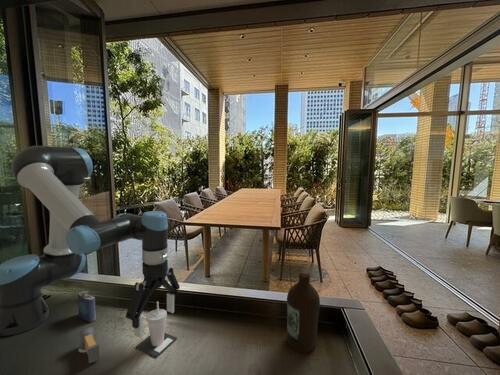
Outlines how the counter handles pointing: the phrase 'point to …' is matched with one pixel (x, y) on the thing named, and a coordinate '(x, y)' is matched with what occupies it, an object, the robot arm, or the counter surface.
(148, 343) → the pad
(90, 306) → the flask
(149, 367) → the counter surface
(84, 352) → the base
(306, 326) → the olive oil
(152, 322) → the smoothie
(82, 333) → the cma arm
